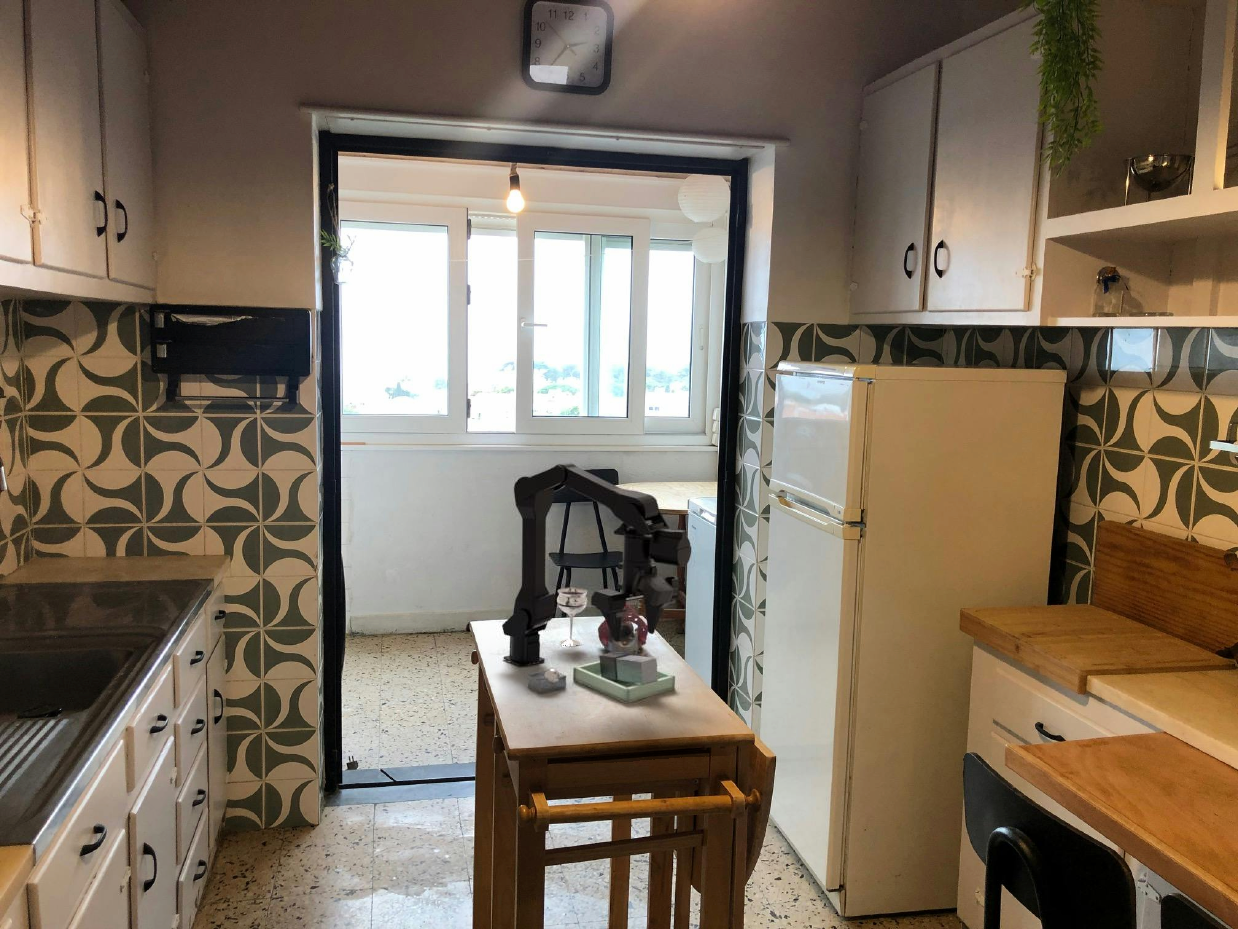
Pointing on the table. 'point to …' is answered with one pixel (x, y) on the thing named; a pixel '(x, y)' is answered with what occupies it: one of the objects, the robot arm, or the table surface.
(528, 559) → the robot arm
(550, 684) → the stud mount
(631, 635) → the brake caliper
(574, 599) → the wineglass
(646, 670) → the strut
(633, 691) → the tray
